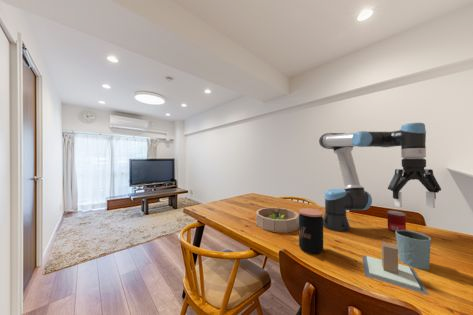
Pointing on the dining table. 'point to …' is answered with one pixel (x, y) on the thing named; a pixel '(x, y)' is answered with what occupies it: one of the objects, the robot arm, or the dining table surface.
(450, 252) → the dining table surface
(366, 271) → the mat
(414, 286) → the lid
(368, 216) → the dining table surface
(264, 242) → the dining table surface
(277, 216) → the plant
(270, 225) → the cachepot ring
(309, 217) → the coffee jar
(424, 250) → the blue pot
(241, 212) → the dining table surface
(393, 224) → the canned food
